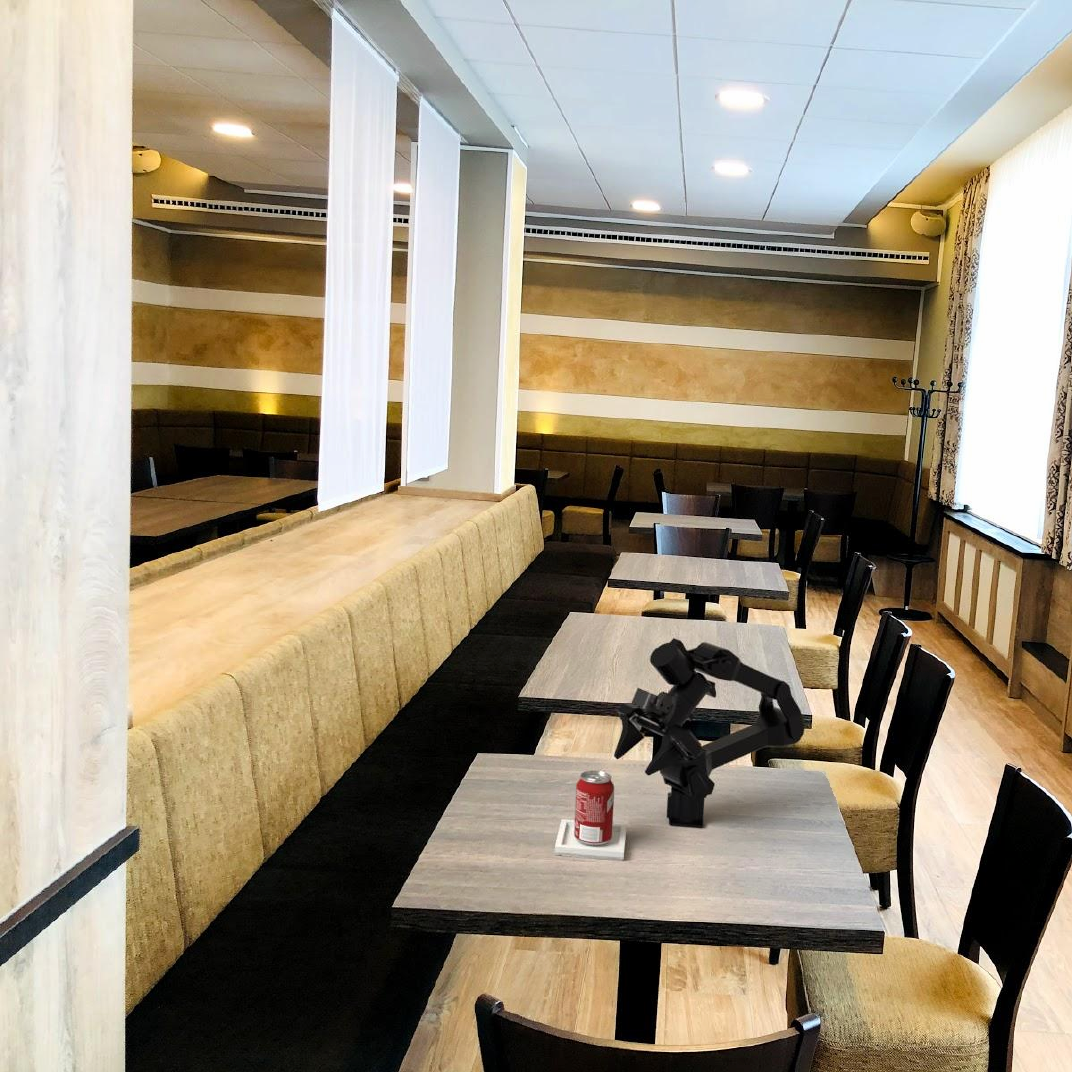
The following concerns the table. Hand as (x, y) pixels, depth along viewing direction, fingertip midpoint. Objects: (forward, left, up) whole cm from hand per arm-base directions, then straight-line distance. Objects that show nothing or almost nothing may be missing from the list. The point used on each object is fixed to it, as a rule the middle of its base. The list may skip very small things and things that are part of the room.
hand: (630, 765), depth 200 cm
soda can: (+6, +5, -13) cm, 15 cm away
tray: (+6, +5, -13) cm, 16 cm away
